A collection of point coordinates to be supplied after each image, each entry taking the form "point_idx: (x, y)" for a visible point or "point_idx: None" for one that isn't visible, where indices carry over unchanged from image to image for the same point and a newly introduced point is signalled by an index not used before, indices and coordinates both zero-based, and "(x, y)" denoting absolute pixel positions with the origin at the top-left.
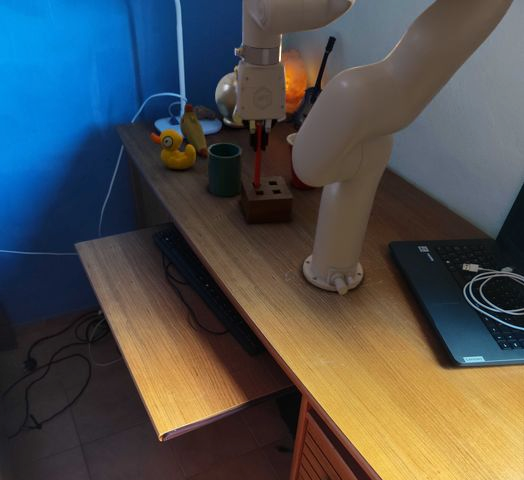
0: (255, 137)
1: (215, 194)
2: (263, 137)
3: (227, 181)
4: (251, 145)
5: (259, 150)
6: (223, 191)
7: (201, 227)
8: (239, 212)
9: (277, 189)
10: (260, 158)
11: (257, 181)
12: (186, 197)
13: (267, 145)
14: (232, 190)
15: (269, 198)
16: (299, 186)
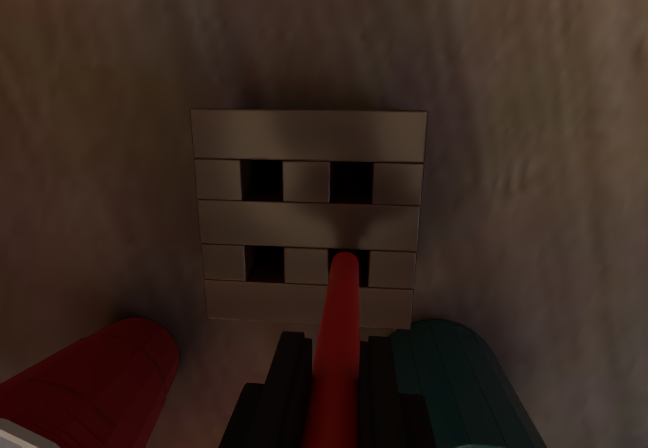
0: (392, 441)
1: (482, 339)
2: (284, 433)
3: (454, 356)
4: (413, 396)
5: (330, 361)
6: (460, 333)
7: (613, 115)
8: (422, 204)
9: (253, 202)
10: (323, 327)
11: (345, 260)
12: (600, 340)
13: (252, 383)
14: (422, 333)
15: (313, 118)
16: (156, 328)
